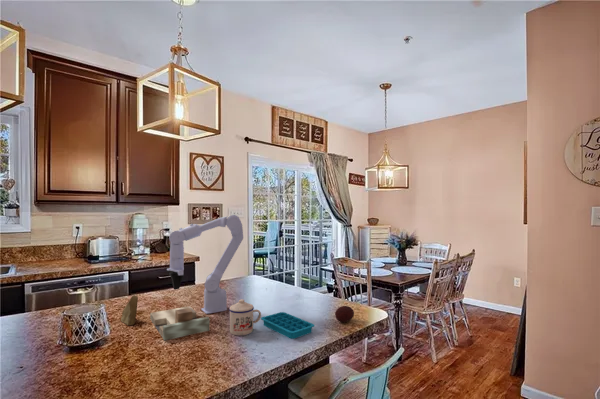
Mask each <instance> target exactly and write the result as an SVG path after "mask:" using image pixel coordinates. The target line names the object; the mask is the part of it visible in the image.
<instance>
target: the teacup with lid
mask: <svg viewBox="0 0 600 399" xmlns="http://www.w3.org/2000/svg"><path fill="white" fill-rule="evenodd" d="M228 310H229V333H230V334H231V335H232V336H246V335H250V334H251V333H252V332H253V331H254V324H257V323H258V322H259V321H260V320H261V318H262V313H261V311H260V310H259V309H255V307H254V305H253V304H251V303H248V302H247V301H245V299H243V298H242V299H239V300H238V302H236V303H234V304H231V305H230V307H229V308H228ZM255 312H257V313H258V316H257V318H256V320H254V313H255Z"/></svg>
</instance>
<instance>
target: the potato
mask: <svg viewBox="0 0 600 399" xmlns="http://www.w3.org/2000/svg"><path fill="white" fill-rule="evenodd" d="M334 316H335V319H336V320H337V321H338V322H340V323H347V322H349V321H352V319H353V318H354V316H355V310H354V309H353V308H352V307H351V306H348V305H342V306H340V307H338V308H337V309H336V310H335V313H334Z"/></svg>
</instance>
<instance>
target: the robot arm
mask: <svg viewBox="0 0 600 399" xmlns="http://www.w3.org/2000/svg"><path fill="white" fill-rule="evenodd" d="M218 227H221V228H226V227H227V228H228V230H229V231H230V235H231V237H232V238H231V239H230V241H229V243H228V244H227V246H226V248H225V250H224V252H223V253H222V255H221V257H220V258H219V261H218V262H217V264H216V266H215V267H214V269H213V270H212V272H211V273H210V274H209V275H207V277H206V279H205V282H204V291H203V297H204V298H203V307H202V308H200V310H201V311H203V313H205V314H206V315H210V314H213V313H219V312H225V311H227V310H228V307H227V303H228V302H227V301H228V300H227V298H228V297H227V296H228V295H227V292H226V289H224V288H221V287H220V284H221V283H220V282H221V280H222V278H223V275H224V274H225V271H226V270H227V268H228V267H229V264H230V263H231V261H232V259H233V257H234V256H235V254H236V252H237V250H238V249H239V248H240V247H239V246H240V245H241V243H242V241H243V239H244V230H243V223H242V221H241V219H240V217H239V216H238V215H236V214H230V215H229V216H228V215H226V216H223V217H222V216H221V217H218V218H216V219H214V220H210V221H208V222H205V223H204V224H200V225H199V224H197V223H190V224H189V225H188V226H186V227H180V228H178V230H173V231H172V232H171V233H170V235H169V236H168V237H169V238H168V240H169V242H170V248H169V268H166V271H168V272H169V271H170V272H169V273H168V275H169V277H170V279H171V282H172V283H171V284H172V287H173V288H172V289H173V290H180V287H181V284H182V279H183V277H184V276H185V273H184V270H185V267H184V263H185V259H184V258H185V254H184V253H185V247H184V241H191V240H193V239H195V238H197V237H200V236H201V235H202V233H203V232H206V231H208V230H209V231H210V230H212V229H215V228H218Z"/></svg>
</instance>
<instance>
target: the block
mask: <svg viewBox="0 0 600 399" xmlns="http://www.w3.org/2000/svg"><path fill="white" fill-rule="evenodd" d="M190 320H192V311H191V310H190V308H186V309H180V310H175V323H180V322H185V321H190Z"/></svg>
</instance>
